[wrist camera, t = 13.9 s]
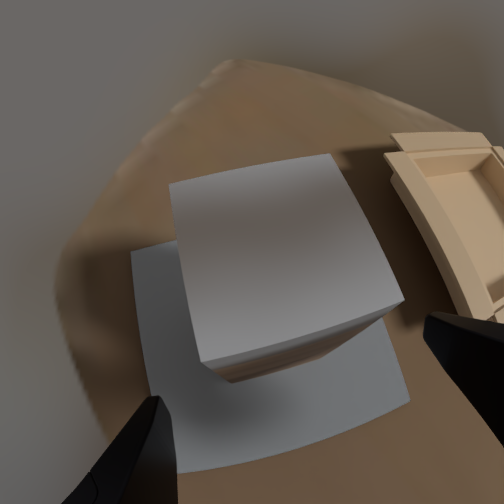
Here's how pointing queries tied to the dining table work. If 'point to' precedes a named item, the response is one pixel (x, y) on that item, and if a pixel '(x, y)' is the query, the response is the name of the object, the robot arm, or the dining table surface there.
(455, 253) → the carton
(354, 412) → the rubber mat
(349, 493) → the dining table surface
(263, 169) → the grey rectangular block
